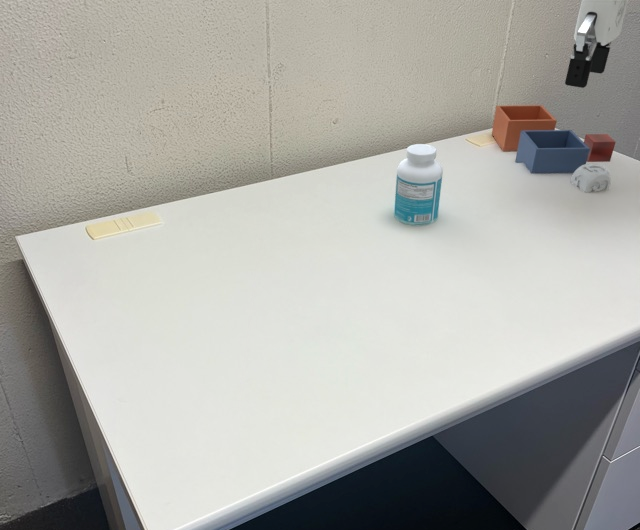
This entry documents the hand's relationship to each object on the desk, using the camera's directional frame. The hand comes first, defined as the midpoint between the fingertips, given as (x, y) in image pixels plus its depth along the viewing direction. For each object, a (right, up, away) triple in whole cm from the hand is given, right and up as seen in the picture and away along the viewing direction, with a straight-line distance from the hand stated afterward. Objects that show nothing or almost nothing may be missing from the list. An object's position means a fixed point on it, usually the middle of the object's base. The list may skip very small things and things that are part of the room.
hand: (584, 78), depth 98 cm
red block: (+15, -5, +29) cm, 33 cm away
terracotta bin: (+2, +1, +37) cm, 37 cm away
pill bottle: (-27, -23, +7) cm, 36 cm away
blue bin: (+3, -9, +25) cm, 26 cm away
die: (+7, -16, +16) cm, 23 cm away
